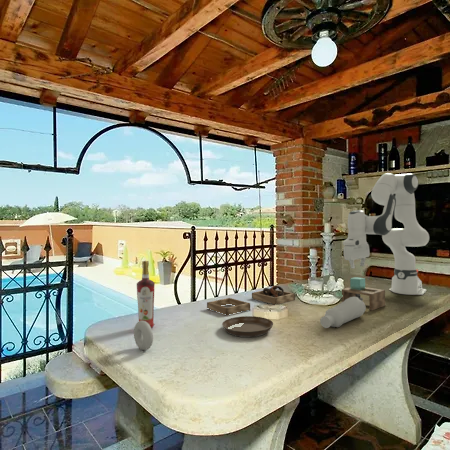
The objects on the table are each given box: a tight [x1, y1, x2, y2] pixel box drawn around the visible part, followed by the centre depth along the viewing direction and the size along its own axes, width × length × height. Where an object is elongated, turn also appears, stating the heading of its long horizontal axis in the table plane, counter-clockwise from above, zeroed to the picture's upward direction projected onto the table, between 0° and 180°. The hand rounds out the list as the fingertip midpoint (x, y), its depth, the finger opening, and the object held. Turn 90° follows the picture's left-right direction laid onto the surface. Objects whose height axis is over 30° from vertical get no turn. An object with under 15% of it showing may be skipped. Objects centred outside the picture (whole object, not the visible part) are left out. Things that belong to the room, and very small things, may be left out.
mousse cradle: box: [206, 297, 251, 316], centre depth 162 cm, size 15×16×4 cm
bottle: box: [319, 296, 367, 329], centre depth 138 cm, size 9×9×30 cm
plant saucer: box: [221, 315, 274, 338], centre depth 130 cm, size 21×21×3 cm
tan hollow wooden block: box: [341, 286, 386, 311], centre depth 167 cm, size 14×16×8 cm
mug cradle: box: [251, 289, 296, 305], centre depth 183 cm, size 16×18×4 cm
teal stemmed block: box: [349, 276, 366, 302], centre depth 170 cm, size 5×5×12 cm
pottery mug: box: [262, 285, 285, 297], centre depth 185 cm, size 12×10×8 cm
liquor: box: [136, 260, 155, 329], centre depth 135 cm, size 7×7×28 cm
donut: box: [133, 320, 154, 351], centre depth 111 cm, size 10×4×10 cm, turn 43°
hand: (357, 267), depth 170 cm, fingers open, 8 cm apart
